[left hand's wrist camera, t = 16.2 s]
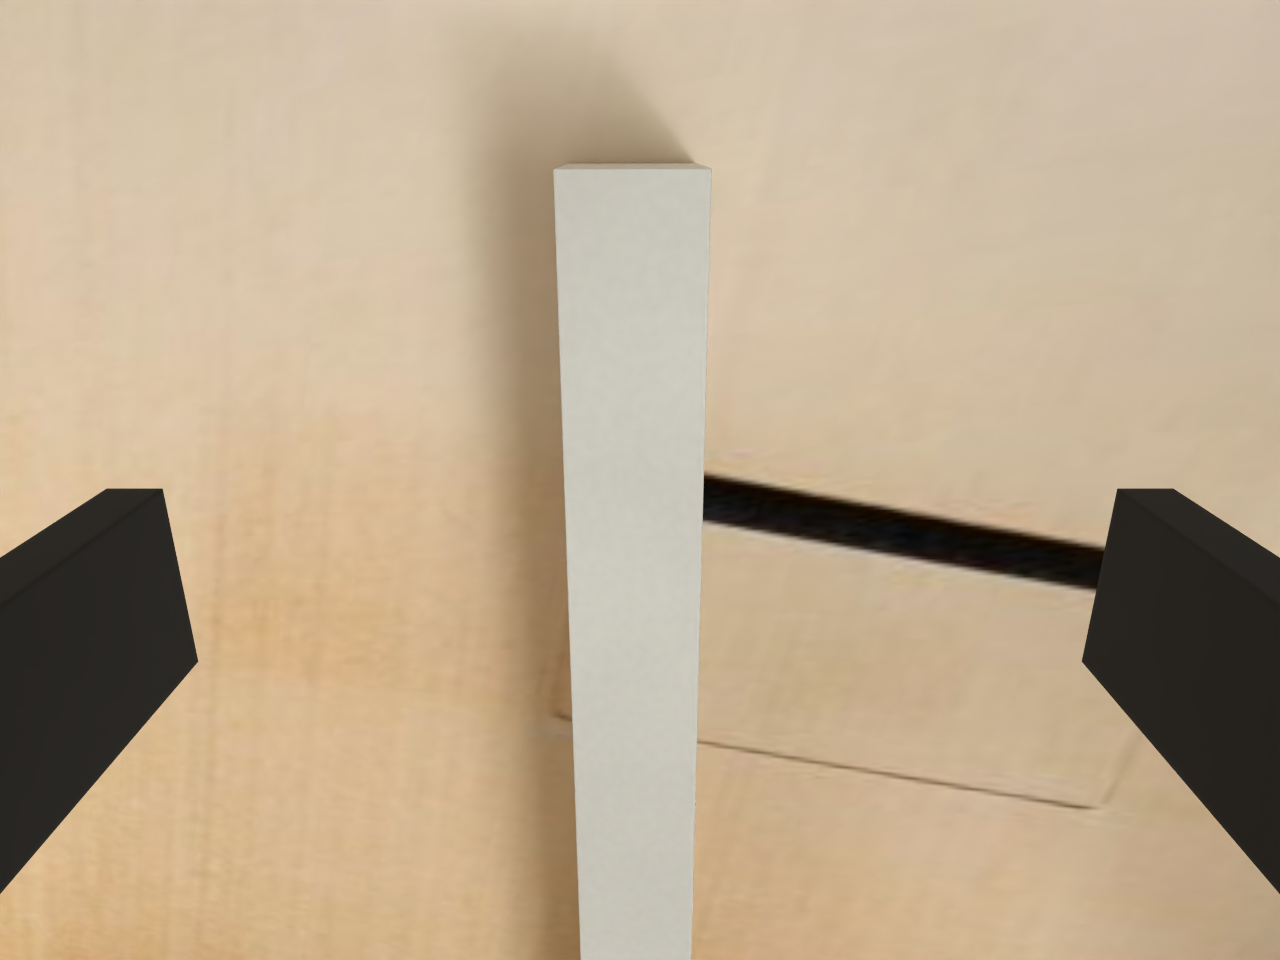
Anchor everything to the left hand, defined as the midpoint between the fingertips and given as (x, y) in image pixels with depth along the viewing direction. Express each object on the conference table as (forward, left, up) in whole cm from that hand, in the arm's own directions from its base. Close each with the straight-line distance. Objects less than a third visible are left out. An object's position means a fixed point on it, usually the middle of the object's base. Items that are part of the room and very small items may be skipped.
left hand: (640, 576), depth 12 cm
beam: (+25, +27, -29) cm, 47 cm away
